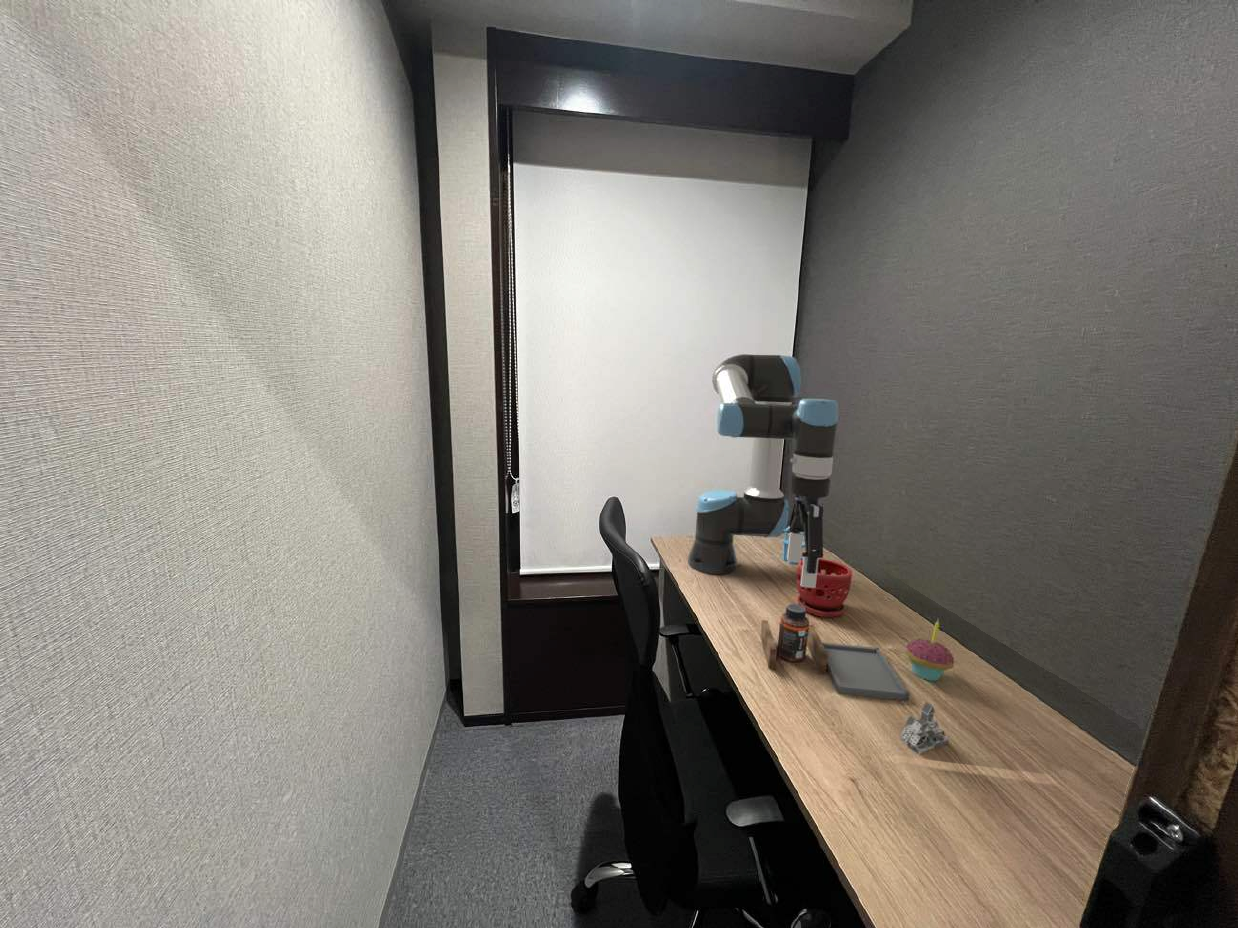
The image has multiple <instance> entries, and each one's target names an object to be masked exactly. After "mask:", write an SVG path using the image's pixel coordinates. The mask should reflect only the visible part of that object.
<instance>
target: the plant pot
mask: <svg viewBox="0 0 1238 928" xmlns="http://www.w3.org/2000/svg"><path fill="white" fill-rule="evenodd" d="M802 566H803V559H802V560H800V562H799V563H797V567H796V568H797V569H796V583H797V584H796V586H797V590H798V593H799V595H798V597H797V598H796V599H797V600H796V601H797V604H798V605H801V606H803V607H804V608H805V609H806V612H807V613H809V614H811V615H814V616H819V617H824V618H831V617H832V618H833V617H837V616H840V615H842V614H843V613H844V612H845V607H846V606H845V605H844V602H846V599H847V597H848V594H849V592H850V589H851V583H852V576H853V571H852V570H851V569H850V568H849V567H848V566H847V565H845V564H844V563H843V564H842V563H840V562H838V561H834V560H830V559H823V558H819V561H818V570H817V578H816V587H815V588H809V587H801V585H800V584H801V575H802ZM823 570H824V571H825V573H822V571H823ZM832 574H834V575H832Z"/></svg>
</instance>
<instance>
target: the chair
mask: <svg viewBox="0 0 1238 928" xmlns="http://www.w3.org/2000/svg"><path fill="white" fill-rule="evenodd" d="M788 532H790V526H789V525H788V527H786V528H785V530H784V532H783V533H784V536H785V537H784V538H783V539H781V542H782V544H783V547H782V548H783V549H782V557H781V558H782V559H781V560H782V562H783V561H787V564H790V565H791V564H798V563H799V562H793V561H788V560H787V557H788V547H789V537H788ZM799 533H803V536H804V532H799ZM804 548H805V539H803V541H802V550H803V549H804ZM801 559H803V557H802V556H801Z"/></svg>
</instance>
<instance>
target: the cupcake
mask: <svg viewBox="0 0 1238 928" xmlns="http://www.w3.org/2000/svg"><path fill="white" fill-rule="evenodd" d="M939 620H940V619H939V618H937V621H936V622H935V623H934V628H933V632H932V633H933V634H932V637H931V639H925V638H916V639H915V640H912V641H910V642H908V644H907V645H906V650H905V654H906V656H907V658H908V660H910V662H911V666H912V672H913V673H914V674H915V675H916V676H918V678H921V679H923V680H926V681H931V682H932V681H933V682H934V681H938V680H939V679H940V678H941V676H942V675H943V673H944V672H945V671H948V670H950V669H952V668H954V663H955V658H954V655H953V653H952V652H951V650H949V649H948V648H947V647H945V645H943V644H941V643H939V642H937V635H938V633H939V632H938V631H939V627H940V623H939Z"/></svg>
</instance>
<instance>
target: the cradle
mask: <svg viewBox="0 0 1238 928" xmlns="http://www.w3.org/2000/svg"><path fill="white" fill-rule="evenodd" d="M760 629H761V630H760V640H761V646H762V648H763V649H762V650H763V652H764V656H765V660H766V664H767V667H768V669H773V670H775V668H776V659H777V647H776V646H777V645H776V643H775V640H774V637H773V634H772V630H771V628H770V624H769V621H768V620H761V628H760ZM807 648H808V651H809V653H810V655H811V658H812V660H813V662H814V665H815V667H816V669H817V672H818V674H820V675H826V670H827V669H826V664H827V656H828V654H827V652H826V650H825V648H824V646H823V644H822V640H821V638H820V636H819V634H818V631H817V630H816V627H815V626H814V624H809V630H808V639H807Z"/></svg>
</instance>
